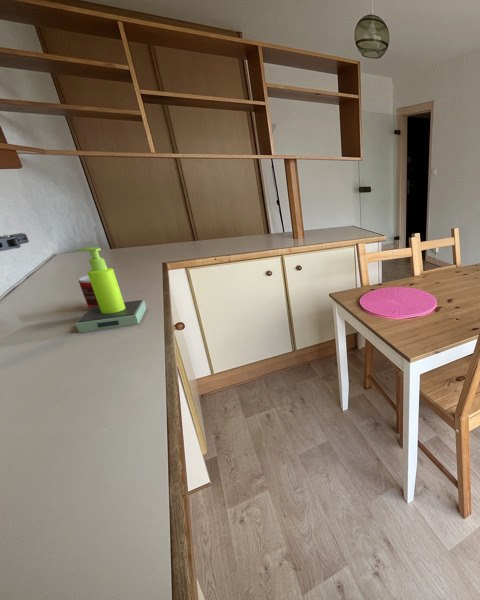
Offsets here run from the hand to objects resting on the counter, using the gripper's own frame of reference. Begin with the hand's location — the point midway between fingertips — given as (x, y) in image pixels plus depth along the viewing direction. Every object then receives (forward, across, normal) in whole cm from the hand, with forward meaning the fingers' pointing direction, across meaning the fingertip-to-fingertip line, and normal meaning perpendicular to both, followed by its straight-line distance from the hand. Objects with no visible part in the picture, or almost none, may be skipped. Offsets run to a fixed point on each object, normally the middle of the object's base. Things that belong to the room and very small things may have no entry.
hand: (4, 237), depth 72 cm
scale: (+20, -2, +30) cm, 36 cm away
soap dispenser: (+19, -2, +27) cm, 33 cm away
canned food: (+30, +9, +30) cm, 44 cm away
